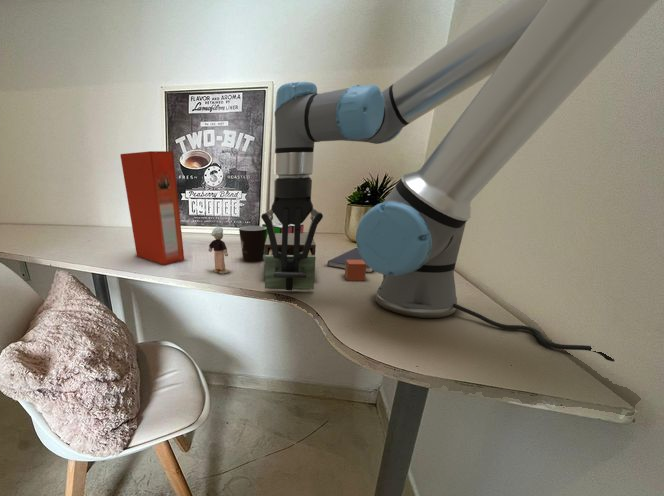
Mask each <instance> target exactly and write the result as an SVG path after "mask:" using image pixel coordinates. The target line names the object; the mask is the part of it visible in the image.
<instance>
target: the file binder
mask: <svg viewBox="0 0 664 496" xmlns="http://www.w3.org/2000/svg"><path fill="white" fill-rule="evenodd" d="M119 156H120V161H121V168H122V173H123V174H122V175H123V180H124V186H125V191H126V198H127V199H126V200H127V204H128V210H129V211H128V212H129V216H130V223H131V229H132V235H133V241H134V247H135V253H136V256H137V257H138V258H142V259H145V260H147V261H151V262H153V263H156V264H159V265H163V266H166V265H167V266H168V265H170V264H174V263H175V264H176V263H178V262H183V261H184V260H185V254H184V243H183V242H184V241H183V235H182V225H181V215H180V206H179V195H178V187H177V177H176V167H175V166H176V165H175V158H174V151H173V150H171V151H169V150H168V151H167V150H166V151H165V150H161V151H160V150H159V151H157V150H152V151H151V150H150V151H139V152H127V153H121V154H119Z"/></svg>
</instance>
